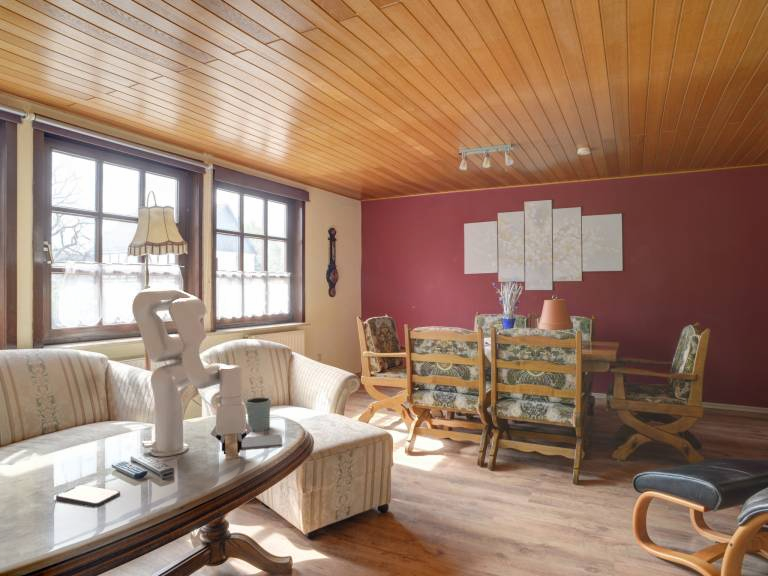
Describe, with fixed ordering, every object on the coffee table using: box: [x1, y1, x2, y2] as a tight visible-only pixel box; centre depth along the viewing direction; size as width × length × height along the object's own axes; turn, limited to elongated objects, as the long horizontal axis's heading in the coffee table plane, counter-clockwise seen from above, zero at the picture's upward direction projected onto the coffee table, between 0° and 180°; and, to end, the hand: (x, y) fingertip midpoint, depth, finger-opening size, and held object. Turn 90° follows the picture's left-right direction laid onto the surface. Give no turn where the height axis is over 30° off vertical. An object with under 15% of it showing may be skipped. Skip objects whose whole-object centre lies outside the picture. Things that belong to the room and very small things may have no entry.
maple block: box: [224, 434, 239, 460], centre depth 175 cm, size 4×4×10 cm
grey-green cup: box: [245, 396, 272, 432], centre depth 209 cm, size 10×10×12 cm
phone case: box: [55, 484, 121, 508], centre depth 144 cm, size 9×2×16 cm
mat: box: [242, 434, 282, 450], centre depth 190 cm, size 20×12×1 cm, turn 102°
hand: (231, 451), depth 176 cm, fingers closed on maple block, 4 cm apart
